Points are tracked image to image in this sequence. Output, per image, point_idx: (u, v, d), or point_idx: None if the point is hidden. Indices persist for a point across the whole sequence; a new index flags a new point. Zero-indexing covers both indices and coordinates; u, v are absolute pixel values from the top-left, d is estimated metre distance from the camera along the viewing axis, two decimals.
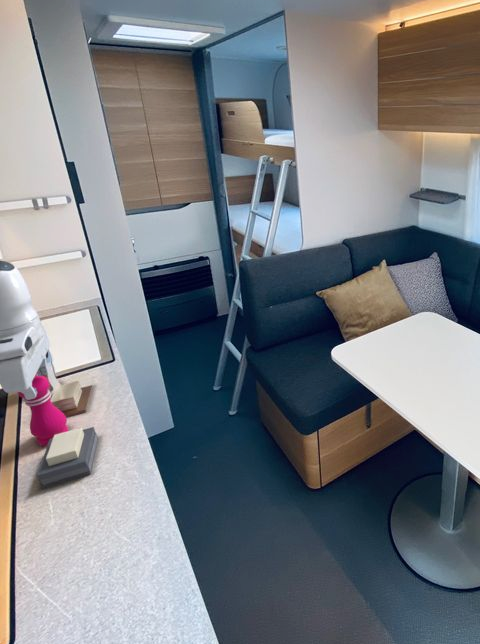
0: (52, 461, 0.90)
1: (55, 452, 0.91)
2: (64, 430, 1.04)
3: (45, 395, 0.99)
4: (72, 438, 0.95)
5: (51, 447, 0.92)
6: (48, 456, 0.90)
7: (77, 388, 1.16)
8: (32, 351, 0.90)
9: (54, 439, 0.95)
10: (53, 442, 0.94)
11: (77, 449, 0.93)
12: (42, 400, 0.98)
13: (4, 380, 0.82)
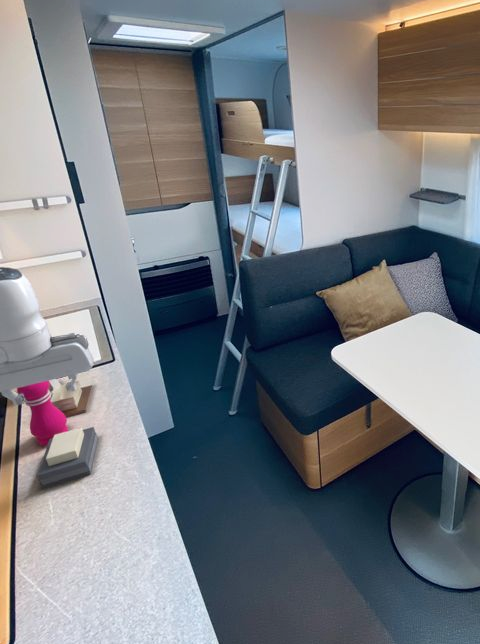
0: (52, 461, 0.90)
1: (55, 452, 0.91)
2: (64, 430, 1.04)
3: (45, 395, 0.99)
4: (72, 438, 0.95)
5: (51, 447, 0.92)
6: (48, 456, 0.90)
7: (77, 388, 1.16)
8: (27, 367, 0.85)
9: (54, 439, 0.95)
10: (53, 442, 0.94)
11: (77, 449, 0.93)
12: (42, 400, 0.98)
13: None
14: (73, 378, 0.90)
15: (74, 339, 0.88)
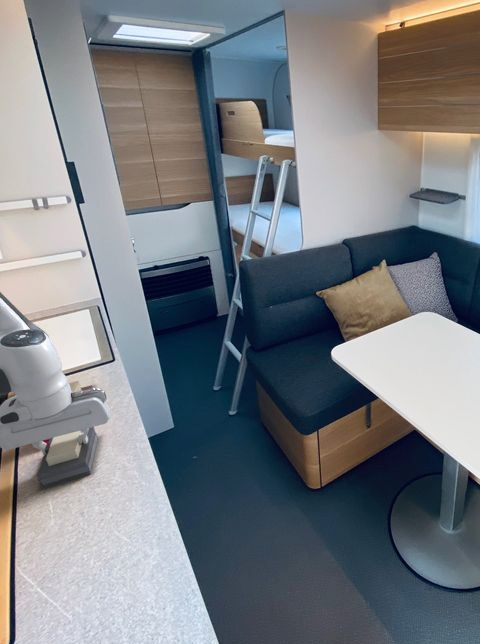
0: (52, 461, 0.90)
1: (55, 452, 0.91)
2: None
3: None
4: (72, 438, 0.95)
5: (51, 447, 0.92)
6: (48, 456, 0.90)
7: (77, 388, 1.16)
8: (49, 422, 0.90)
9: (54, 439, 0.95)
10: (53, 442, 0.94)
11: (77, 449, 0.93)
12: None
13: None
14: (85, 432, 0.94)
15: (93, 394, 0.93)
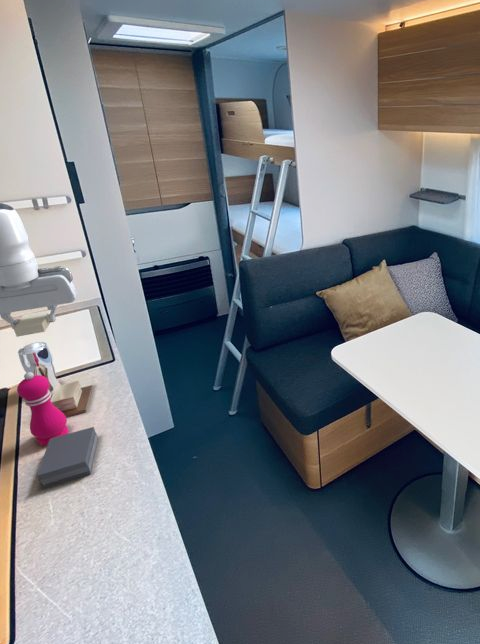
0: (20, 332, 0.96)
1: (23, 325, 0.97)
2: (64, 430, 1.04)
3: (45, 395, 0.99)
4: (40, 316, 1.01)
5: (20, 321, 0.98)
6: (16, 327, 0.96)
7: (77, 388, 1.16)
8: (17, 294, 0.95)
9: (23, 317, 1.00)
10: (22, 318, 0.99)
11: (44, 324, 0.98)
12: (42, 400, 0.98)
13: None
14: (52, 309, 1.00)
15: (59, 272, 0.98)
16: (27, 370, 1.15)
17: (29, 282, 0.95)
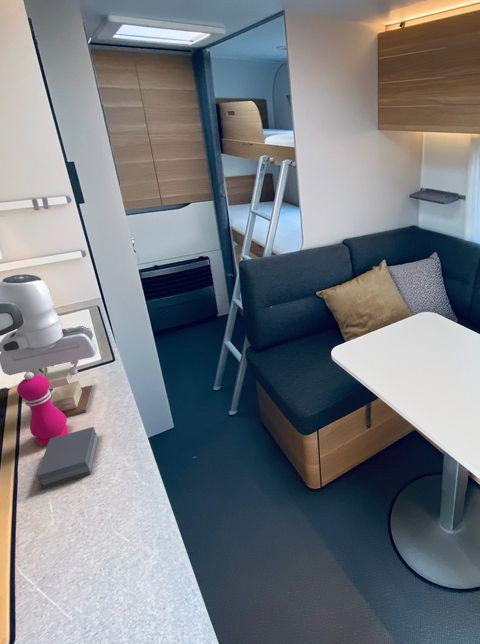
0: None
1: (49, 379, 1.08)
2: (64, 430, 1.04)
3: (45, 395, 0.99)
4: (64, 369, 1.12)
5: (46, 376, 1.10)
6: None
7: (77, 388, 1.16)
8: (44, 352, 1.07)
9: (49, 370, 1.12)
10: (48, 372, 1.11)
11: (68, 377, 1.10)
12: (42, 400, 0.98)
13: None
14: (75, 364, 1.11)
15: (81, 331, 1.10)
16: None
17: (55, 342, 1.07)
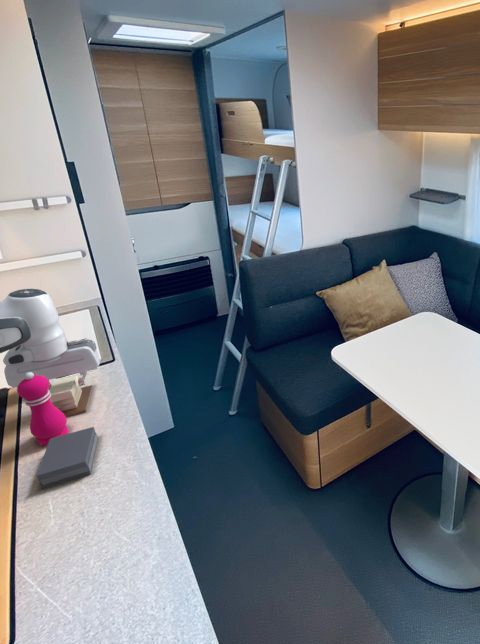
0: (52, 398, 1.09)
1: (54, 392, 1.10)
2: (64, 430, 1.04)
3: (45, 395, 0.99)
4: (68, 382, 1.14)
5: (51, 388, 1.11)
6: None
7: (77, 388, 1.16)
8: (48, 365, 1.08)
9: (53, 383, 1.14)
10: (52, 385, 1.13)
11: (72, 390, 1.11)
12: (42, 400, 0.98)
13: None
14: (84, 374, 1.13)
15: (85, 343, 1.11)
16: None
17: (59, 355, 1.08)
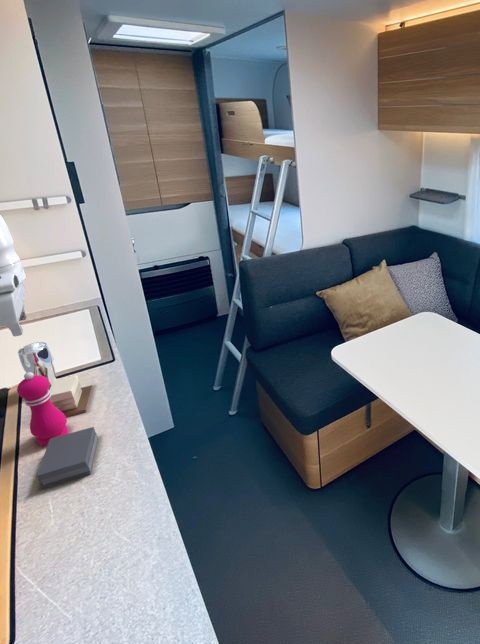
0: (52, 398, 1.09)
1: (54, 392, 1.10)
2: (64, 430, 1.04)
3: (45, 395, 0.99)
4: (68, 382, 1.14)
5: (51, 388, 1.11)
6: None
7: (77, 388, 1.16)
8: (15, 293, 0.98)
9: (53, 383, 1.14)
10: (52, 385, 1.13)
11: (72, 390, 1.11)
12: (42, 400, 0.98)
13: None
14: (23, 304, 1.05)
15: None
16: (27, 370, 1.15)
17: None
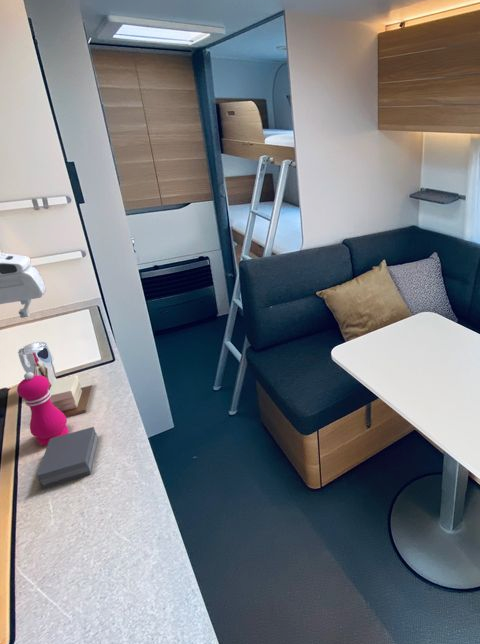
0: (52, 398, 1.09)
1: (54, 392, 1.10)
2: (64, 430, 1.04)
3: (45, 395, 0.99)
4: (68, 382, 1.14)
5: (51, 388, 1.11)
6: None
7: (77, 388, 1.16)
8: None
9: (53, 383, 1.14)
10: (52, 385, 1.13)
11: (72, 390, 1.11)
12: (42, 400, 0.98)
13: (39, 283, 0.97)
14: None
15: None
16: (27, 370, 1.15)
17: None
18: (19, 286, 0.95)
